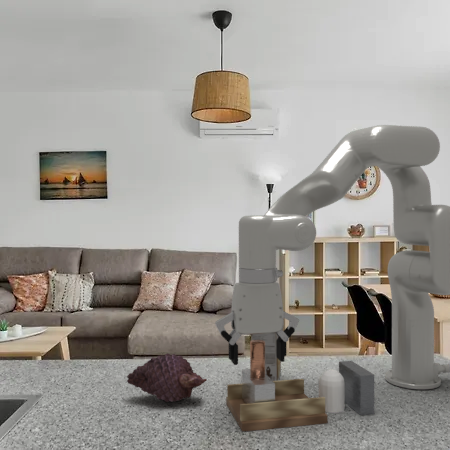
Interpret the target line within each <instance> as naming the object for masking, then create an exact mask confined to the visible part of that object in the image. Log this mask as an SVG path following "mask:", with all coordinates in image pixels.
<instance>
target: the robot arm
mask: <svg viewBox="0 0 450 450" xmlns="http://www.w3.org/2000/svg"><path fill="white" fill-rule="evenodd" d="M440 151H441V142H440V139H439V137H438V135H437V134H436V132H434V131H433V130H432V129H430V128H428V127H424V126H416V125H414V126H413V125H411V126H410V125H396V124H395V125H393V124H379V125H374V126H373V125H372V126H369V127H364V128H359V129H356V130H353V131H350V132H348V133H347V134H345V135H344V136H343V137H342V138H341V139H340V140H339V142H338V143H336V145H335V146H334V147H333V148H332V150H331V151H330V152H329V153H328V154H327V156H326V157H325V158H324V159H323V160H322V161H321V162H320V164H319V165H318V166H317V167H316V168H315V169H314V171H313V172H311V173H310V174H309V175H307V176H306V177H305V178H303V179H302V180H301V181H299V182H298V183H297V184H295V185H294V186H293V187H291V188H290V189H288V190H287V191H286V192H285V193H283V194H282V195H280V197H279V198H277V200H275V202H273V204H272V205H271V206H270V207H269V209H267V210H266V212H265V213H264V215H255V214H254V215H252V214H251V215H244V216H241V217H240V219H239V221H238V282H235V283H234V286H233V291H232V299H231V308H230V309H231V312H229V313H227V314H226V315H225V316H223V317H221V318H219V319H218V320H216V321H215V322H214V324H215V327H216V329H217V331H218V333H219V334H220V335H221V337H222V338H223V339H224V340H225V341H226V342H227V343H228V359H229V360H230V361H231V363H232V364H233V365H234V366H237V365H238V364H239V345H238V344H237V342H238V341H239V339H240V338H241V336H244V335H245V336H246V335H248V336H249V335H251V334H269V333H276V334H277V335H278V339H277V340H276V357H277V358H278V359H279V360H280V361H281V363H282V362H283V363H284V362H285V357H286V356H287V342H288V341H289V340H290V338H291V337H292V335H293V334H294V333H295V331H296V328H297V326H298V324H299V323H300V319H299V317H297V316H295V315H292V314H290V313H289V312H286V311H284V305H283V304H284V303H283V297H282V291H281V286H280V283H279V282H277V281H278V278H282V277H283V276H284V272H283V270H280V269H278V268H277V250H281V251H282V250H283V251H291V252H299V251H303V250H306V249H308V248H310V247H312V245H313V244H314V242H315V240H316V237H317V229H316V226H315V224H314V222H313V221H312V220H311V219H310V218H309V217H307V216H308V215H310V214H312V213H314V212H315V211H318V210H320V209H322V208H326V207H328V206H331V205H332V204H334V203H336V202H338V201H340V200H342V199H343V198H344V197H346V195H347V194H348V193H349V191H350V190H351V188H352V187H353V186H354V185H355V184H356V182H357V181H358V180H359V179H360V177H361V176H362V175H363V174H364V173H365V172H366V170H367V169H369V168H372V167H378V168H379V169H380V170H381V171H382V172H383V174H384V175H385V176H386V177H387V179H388V180H389V182H390V184H391V188H392V201H393V204H392V205H393V207H392V208H393V210H392V211H393V233H394V236H395V238H396V240H397V241H399V242H400V243H402V244H405V245H412V246H426V247H428V249H429V251H425V250H413V249H409V250H402V251H401V250H400V251H398V252H396V253H395V254H393V255H392V256H391V258H390V259H389V261H388V264H387V277H388V282H389V286H390V287H389V288H390V293H391V294H390V295H391V369H390V370H387V371H386V372H385V374H384V377H385V378H384V379H385V380H386V382H388V383H389V384H391V385H394V386H396V387H400V388H404V389H410V390H411V389H412V390H433V389H437V388H439V387H440V386H441V385H442V379H441V378H440V376H439V375H441V374H442V373H443V374H446V373H448V374H449V373H450V364H440V363H439V362H435V309H434V303H433V301H432V297H431V296H430V295H429V294H434V295H439V296H449V295H450V205H447V204H432V194H431V185H430V180H429V178H428V175H427V174H426V172H425V171H424V169H423V168H422V167H424V166H427V165H430V164H432V163H433V162H434V161H435V160H436V159H437V158H438V156H439V153H440ZM284 319H285V320H287V321H289V323H288V326H287V327H285V328H284V325H285V321H284ZM229 323H230V326H231V329H232V330H231V331H230V333H228V332H227V330H226V328H225V326H226V325H227V324H229ZM283 329H284V330H283Z"/></svg>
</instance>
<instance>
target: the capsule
mask: <svg viewBox="0 0 450 450" xmlns="http://www.w3.org/2000/svg"><path fill="white" fill-rule="evenodd" d="M318 397H325V413H331V414H338V413H342V412H344V411H345V406H346V405H345V404H346V403H345V382H344V378H343V376H342V375H341V374H340V373H339V370H336V369H333V368H332V369H329V368H328V369H326V370H324V371H322V373H321V374H320V376H319V379H318Z"/></svg>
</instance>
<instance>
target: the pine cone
mask: <svg viewBox="0 0 450 450" xmlns="http://www.w3.org/2000/svg"><path fill="white" fill-rule="evenodd" d="M126 378H127V380H126V382H127V384H129V385H133V386H135V388H139V389H141V391H142V392H144V393H145V392H146V393H147V394H148V395H152V396H156V399H157V400H162V401H165V402H167V403H169V402H171V403H173V402H174V403H175V402H177V401H181V400H183V399H187V398H191V396H192V393H193V389H194V388H198V387H200V386H202V384H204V383H205V382H207V380H208V378H203V377H202V376H201V375H199V374H197V372H194V370H193V367H192V366H191V363H190V361H188V359H187V358H184V357H183V355H177V354H175V353H173V354H170V353H166V354H165V355H157V356H156V357H151V358H150V359H149V360H147V361H146V362H145V363H144V364H142V365H139V366H137V367H136V369H134V370H133V371H132V372H130V373H128V374H127V376H126Z"/></svg>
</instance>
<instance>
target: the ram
mask: <svg viewBox="0 0 450 450" xmlns="http://www.w3.org/2000/svg"><path fill="white" fill-rule="evenodd" d="M249 344H250V346H249V347H250V348H249V349H250V350H249V352H250V353H249V360H250V361H249V366H250V367H249V368H244V369H241V384H242V398H243V400H244V401H245V403H246V404H248V403H260V402H271V401H275V383H274V382H273V381H272V380H271V379H270V378H269V377H268V376H267V375H266V374H265V341H263V340H252V341H251V340H250V341H249Z"/></svg>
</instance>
